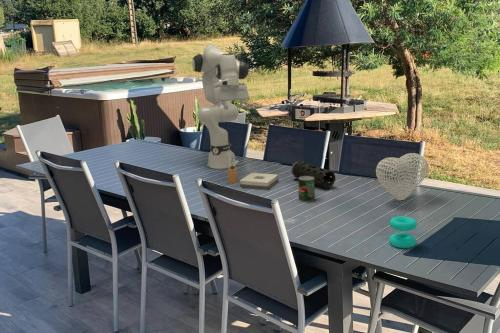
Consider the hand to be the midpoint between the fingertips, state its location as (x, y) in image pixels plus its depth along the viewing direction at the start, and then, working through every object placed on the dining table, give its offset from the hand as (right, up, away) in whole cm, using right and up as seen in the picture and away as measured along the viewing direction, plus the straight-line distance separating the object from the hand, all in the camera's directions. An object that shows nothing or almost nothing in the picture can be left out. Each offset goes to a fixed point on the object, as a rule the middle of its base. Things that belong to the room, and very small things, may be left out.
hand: (233, 108), depth 282 cm
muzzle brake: (+43, -41, +4) cm, 59 cm away
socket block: (+14, -41, +5) cm, 44 cm away
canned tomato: (+37, -48, -23) cm, 64 cm away
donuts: (+67, -61, -82) cm, 122 cm away
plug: (-1, -40, +11) cm, 42 cm away
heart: (+82, -48, -30) cm, 99 cm away
